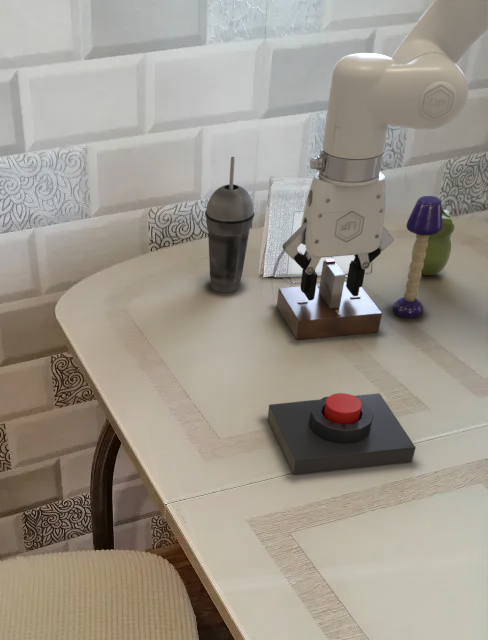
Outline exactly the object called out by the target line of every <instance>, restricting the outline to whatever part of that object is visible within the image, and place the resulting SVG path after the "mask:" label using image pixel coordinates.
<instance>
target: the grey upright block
mask: <svg viewBox="0 0 488 640" xmlns="http://www.w3.org/2000/svg"><path fill="white" fill-rule="evenodd" d="M345 279H346V274H345V272H344V271H343V270H342V269H341V268H340V266H339V265H338V264H337V261H336V260H335V259H334V257H330V258H324V259H323V261H322V267H321V274H320V280H319V284H320V287H319V293H320V295H321V296H322V298H323V299H324V301H325V302H326V304H327V305H328V307H329V308H340V303H341V297H342V291H343V286H344V282H345Z"/></svg>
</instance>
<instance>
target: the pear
mask: <svg viewBox="0 0 488 640" xmlns="http://www.w3.org/2000/svg"><path fill="white" fill-rule="evenodd" d="M454 231H455V225H454V223H453V220H452V217H451V212H450V211H449V210H448V209H442V230H441V231H440V232H439V233H437V234H433V235H430V237H429V239H428V247H427V249H426V250H425V251H426V256H425V259H424V260H423V262H424V266H423V269H422V270H421V273H422V275H423V276H433V275H436V274H437V275H438V273H440V272H442V271H443V270H444V269H445V267H446V266H447V265H448V262H449V260H450V256H451V251H452V240H451V239H452V238H451V237H452V234H453V232H454ZM414 250H415V249H414V245H413V246H412V251H411V255H412V254H413V251H414ZM412 260H413V259H412V258H411V261H412Z"/></svg>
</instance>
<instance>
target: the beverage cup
mask: <svg viewBox="0 0 488 640" xmlns="http://www.w3.org/2000/svg"><path fill="white" fill-rule="evenodd" d="M235 159H236V157H235V156H231V157H230V165H229V166H230V167H229V184H224V185H222V186H220V187H218V188H217V189H215V190H214V191H213V193H212V194H211V195H210V197H209V199H208V201H207V205H206V210H205V213H204V216H205V218H206V219H205V220H206V227H207V228H206V229H207V237H208V257H209V258H208V259H209V261H208V262H209V277H210V287H211V288H212V290H213V291H215V292H219V293H232V292H236V291H237V290H239V289H240V287H241V281H242V277H243V272H244V265H245V260H246V254H247V247H248V241H249V236H250V235H249V234H250V230H251V228H252V226H253V225H252V224H253V221H254V217H255V208H254V203H253V199H252V197H251V195H250V193H249V192H248V190H246V189H245V188H244V187H242V186H240V185H238V184H234V177H235V176H234V175H235V174H234V173H235Z"/></svg>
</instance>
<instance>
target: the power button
mask: <svg viewBox="0 0 488 640" xmlns="http://www.w3.org/2000/svg"><path fill="white" fill-rule="evenodd" d="M355 396H356V395H353V394H350V393H345V392H344V393H343V392H338V393H333V394H330V395H329V396H327V397H328V398H327V400H326V404H325V410H324V416H325V418H326V419H328V420H329V421H331V422H333V423H338V424H343V425H345V424H354V423H356V422H357V421H358V420H359V416H360V411H361V407H362V404H361V401H360V400H359V399H358V398H357V397H355Z"/></svg>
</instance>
